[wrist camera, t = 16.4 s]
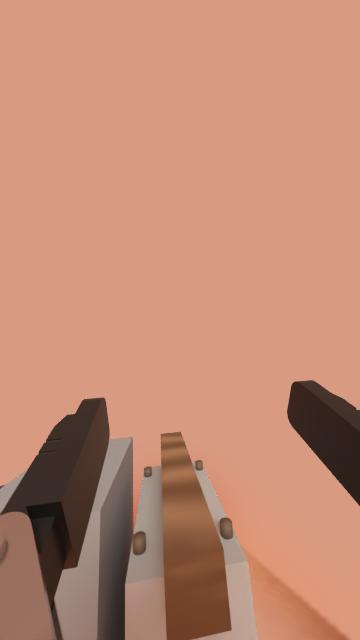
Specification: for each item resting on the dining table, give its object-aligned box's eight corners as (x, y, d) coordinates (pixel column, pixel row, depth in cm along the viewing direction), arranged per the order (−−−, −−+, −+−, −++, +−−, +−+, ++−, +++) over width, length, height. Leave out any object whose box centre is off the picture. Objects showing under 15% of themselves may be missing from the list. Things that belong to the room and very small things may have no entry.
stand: (40, 742, 25) (61, 444, 34) (220, 694, 28) (197, 429, 37) (-329, 1872, 6) (-63, 534, 15) (351, 1379, 9) (238, 489, 18)
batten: (161, 456, 39) (160, 434, 40) (182, 454, 39) (180, 431, 40) (167, 645, 12) (163, 559, 13) (231, 630, 12) (223, 548, 13)
